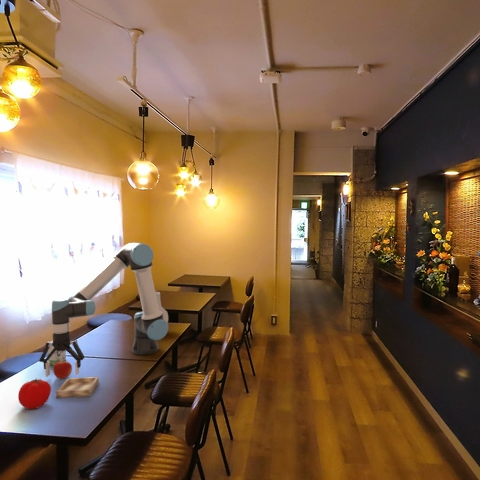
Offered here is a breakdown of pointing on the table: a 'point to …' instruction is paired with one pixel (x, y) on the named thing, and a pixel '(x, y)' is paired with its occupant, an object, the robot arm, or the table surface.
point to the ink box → (56, 356)
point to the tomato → (34, 393)
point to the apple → (62, 369)
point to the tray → (77, 387)
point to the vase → (165, 314)
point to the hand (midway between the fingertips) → (62, 374)
